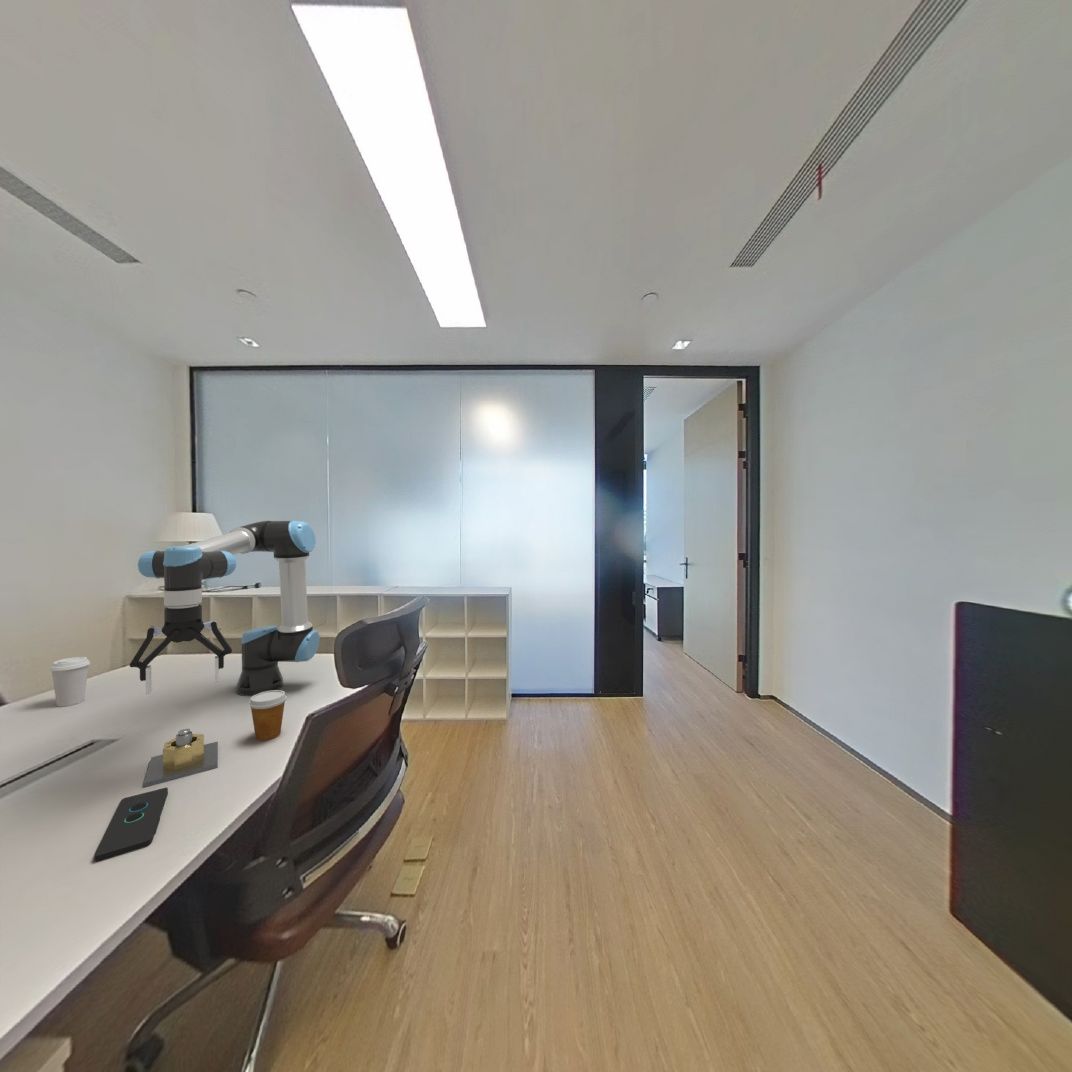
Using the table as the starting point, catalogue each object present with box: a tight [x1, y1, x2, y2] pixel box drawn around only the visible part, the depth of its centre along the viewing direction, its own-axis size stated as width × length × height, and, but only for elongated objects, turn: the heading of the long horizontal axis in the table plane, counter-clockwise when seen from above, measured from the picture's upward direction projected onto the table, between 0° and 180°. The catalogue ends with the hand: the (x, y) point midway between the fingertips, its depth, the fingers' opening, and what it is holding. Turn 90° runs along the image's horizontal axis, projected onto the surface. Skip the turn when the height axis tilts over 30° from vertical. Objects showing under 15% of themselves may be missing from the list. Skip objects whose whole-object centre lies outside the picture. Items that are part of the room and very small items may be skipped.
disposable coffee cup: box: [248, 689, 288, 741], centre depth 125 cm, size 10×10×12 cm
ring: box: [162, 733, 205, 770], centre depth 109 cm, size 8×8×5 cm
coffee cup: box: [49, 656, 91, 708], centre depth 146 cm, size 10×10×15 cm
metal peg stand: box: [143, 728, 219, 788], centre depth 109 cm, size 14×14×9 cm
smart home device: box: [94, 786, 169, 863], centre depth 88 cm, size 8×2×20 cm
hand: (184, 686), depth 109 cm, fingers open, 13 cm apart
